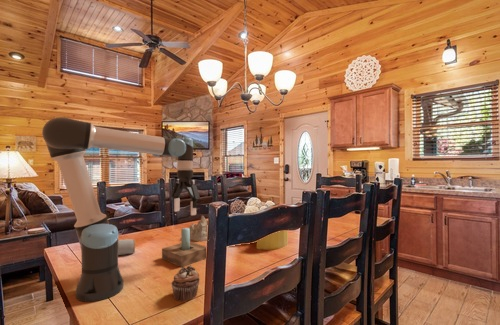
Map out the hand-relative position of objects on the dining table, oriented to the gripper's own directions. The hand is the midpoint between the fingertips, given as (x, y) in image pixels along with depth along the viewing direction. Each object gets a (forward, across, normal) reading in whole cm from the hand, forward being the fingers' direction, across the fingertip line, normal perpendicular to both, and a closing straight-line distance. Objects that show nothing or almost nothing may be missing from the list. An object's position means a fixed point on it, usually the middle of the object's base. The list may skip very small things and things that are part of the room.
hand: (184, 213), depth 130 cm
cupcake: (+22, -30, +21) cm, 43 cm away
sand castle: (+22, +21, -28) cm, 42 cm away
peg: (+22, 0, 0) cm, 22 cm away
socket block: (+22, 0, 0) cm, 22 cm away
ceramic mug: (+23, +30, +16) cm, 40 cm away
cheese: (+22, -14, -46) cm, 53 cm away
